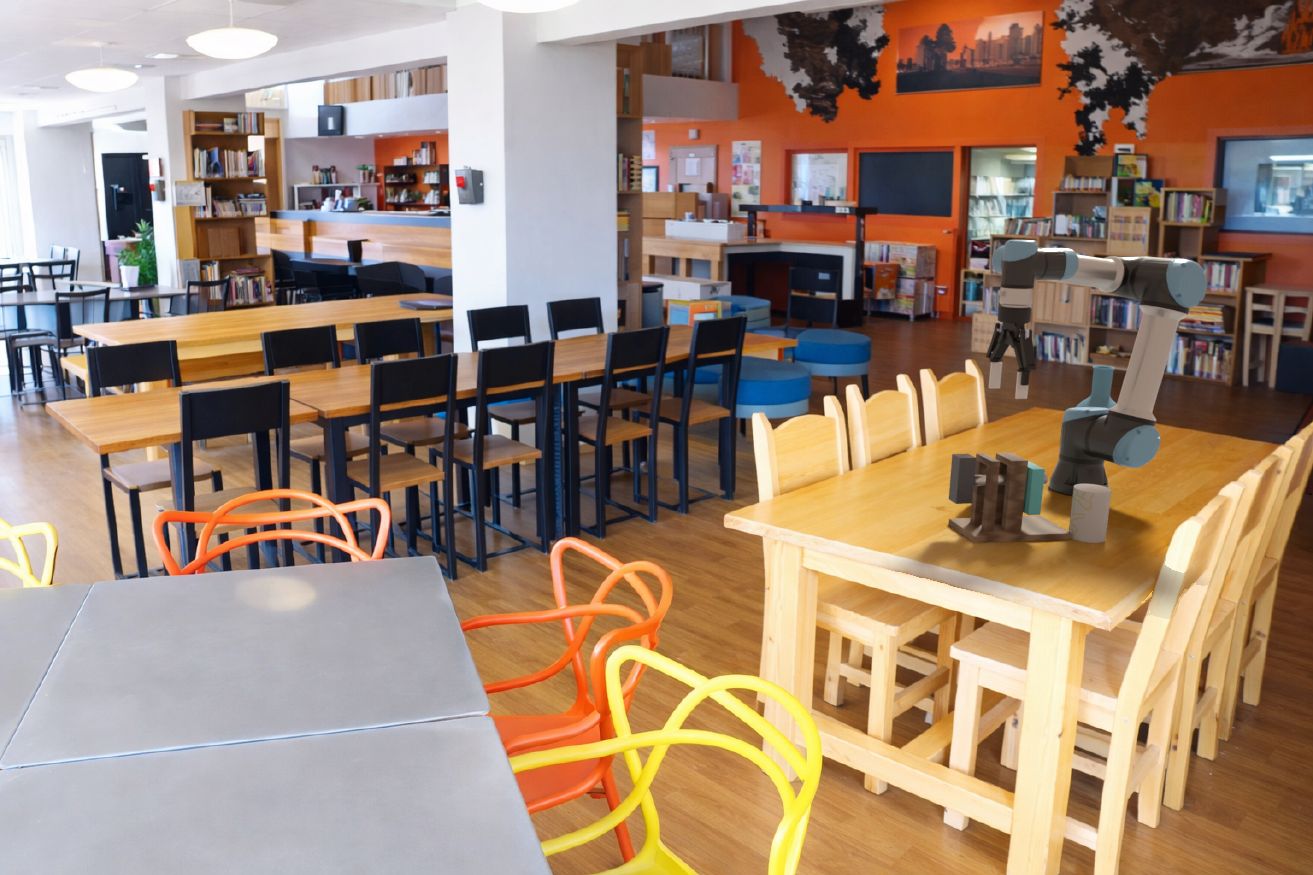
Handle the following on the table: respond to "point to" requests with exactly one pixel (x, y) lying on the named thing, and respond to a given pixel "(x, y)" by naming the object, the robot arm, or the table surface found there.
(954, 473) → the shaft
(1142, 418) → the robot arm
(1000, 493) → the stand
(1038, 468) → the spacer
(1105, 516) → the cup
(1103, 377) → the vase
